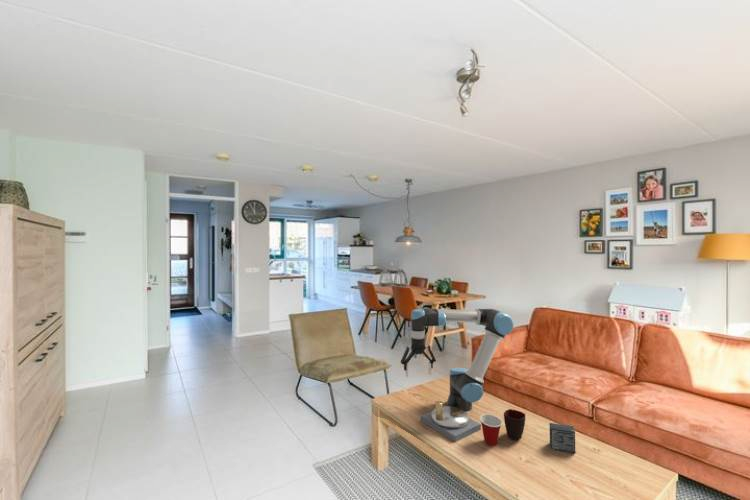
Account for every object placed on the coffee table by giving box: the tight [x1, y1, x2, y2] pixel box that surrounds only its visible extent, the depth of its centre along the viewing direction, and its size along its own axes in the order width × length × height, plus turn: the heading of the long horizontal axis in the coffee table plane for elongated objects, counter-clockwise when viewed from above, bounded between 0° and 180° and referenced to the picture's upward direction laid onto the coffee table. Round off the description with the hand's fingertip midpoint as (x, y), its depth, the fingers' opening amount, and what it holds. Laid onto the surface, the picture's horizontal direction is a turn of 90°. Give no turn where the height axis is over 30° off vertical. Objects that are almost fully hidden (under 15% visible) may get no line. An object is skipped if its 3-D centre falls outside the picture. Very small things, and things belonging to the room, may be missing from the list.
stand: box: [419, 410, 482, 443], centre depth 193 cm, size 26×20×3 cm
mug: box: [503, 408, 526, 442], centre depth 182 cm, size 10×14×12 cm
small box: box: [549, 422, 576, 454], centre depth 171 cm, size 11×6×10 cm, turn 71°
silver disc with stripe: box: [431, 400, 470, 429], centre depth 193 cm, size 20×20×11 cm
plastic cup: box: [479, 413, 503, 447], centre depth 176 cm, size 11×11×12 cm
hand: (418, 375), depth 197 cm, fingers open, 13 cm apart
